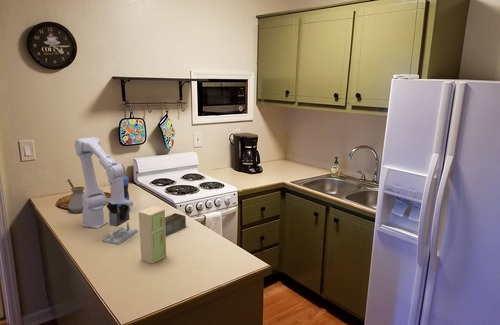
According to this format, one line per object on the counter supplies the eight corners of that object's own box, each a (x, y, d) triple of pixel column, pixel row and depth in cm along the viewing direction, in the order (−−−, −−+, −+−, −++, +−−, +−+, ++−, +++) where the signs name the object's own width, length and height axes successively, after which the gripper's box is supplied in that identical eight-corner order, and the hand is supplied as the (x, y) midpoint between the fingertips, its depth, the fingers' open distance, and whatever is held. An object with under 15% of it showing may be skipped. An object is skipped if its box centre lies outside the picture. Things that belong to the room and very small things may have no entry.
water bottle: (126, 214, 190) (123, 169, 184) (109, 214, 190) (106, 169, 184) (132, 208, 199) (130, 165, 193) (116, 208, 199) (113, 165, 193)
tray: (102, 241, 157) (101, 231, 156) (121, 229, 170) (121, 220, 169) (119, 244, 155) (118, 234, 154) (137, 232, 168) (137, 222, 167)
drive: (109, 225, 158) (108, 212, 156) (122, 218, 166) (121, 206, 165) (117, 226, 156) (116, 214, 155) (129, 219, 165) (128, 207, 164)
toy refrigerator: (153, 265, 138) (151, 215, 133) (140, 260, 142) (138, 211, 137) (168, 257, 145) (166, 209, 140) (155, 252, 148) (153, 205, 144)
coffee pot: (94, 210, 194) (91, 184, 191) (72, 215, 187) (69, 188, 183) (80, 201, 209) (78, 176, 206) (59, 205, 201) (56, 180, 198)
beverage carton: (145, 236, 164) (145, 223, 162) (175, 223, 179) (175, 211, 178) (157, 241, 159) (156, 227, 158) (187, 227, 175) (186, 215, 174)
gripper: (97, 191, 156) (100, 220, 159) (125, 195, 152) (127, 224, 155) (108, 187, 162) (110, 214, 165) (135, 190, 158) (136, 218, 161)
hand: (119, 219), depth 161 cm, fingers closed on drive, 4 cm apart
